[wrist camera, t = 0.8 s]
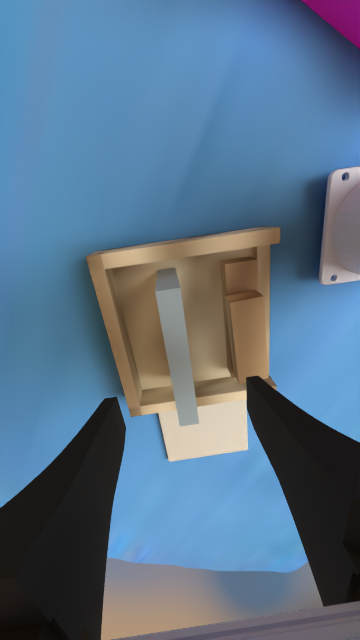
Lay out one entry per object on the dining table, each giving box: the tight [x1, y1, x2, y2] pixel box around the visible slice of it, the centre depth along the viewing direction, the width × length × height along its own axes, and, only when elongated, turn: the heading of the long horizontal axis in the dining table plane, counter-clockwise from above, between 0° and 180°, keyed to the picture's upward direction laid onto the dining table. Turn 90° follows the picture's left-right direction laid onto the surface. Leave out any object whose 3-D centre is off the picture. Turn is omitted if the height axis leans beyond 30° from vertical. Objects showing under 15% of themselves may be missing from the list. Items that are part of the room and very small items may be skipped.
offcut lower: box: [220, 256, 258, 378], centre depth 20 cm, size 2×10×2 cm, turn 8°
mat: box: [158, 399, 248, 462], centre depth 26 cm, size 9×8×1 cm
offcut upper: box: [224, 290, 268, 384], centre depth 19 cm, size 2×7×2 cm, turn 11°
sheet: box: [155, 268, 199, 426], centre depth 18 cm, size 1×10×6 cm, turn 8°
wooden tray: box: [86, 226, 280, 417], centre depth 20 cm, size 13×14×3 cm
